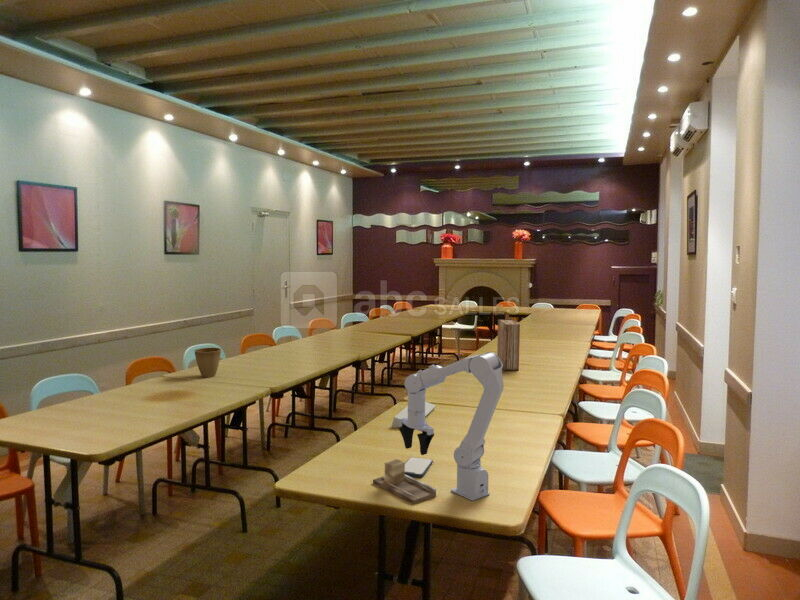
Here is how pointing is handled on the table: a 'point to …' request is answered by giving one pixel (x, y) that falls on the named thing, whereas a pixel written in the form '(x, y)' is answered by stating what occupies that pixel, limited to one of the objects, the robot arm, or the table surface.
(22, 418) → the table surface
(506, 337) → the tall wooden block
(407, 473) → the smartphone
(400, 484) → the board
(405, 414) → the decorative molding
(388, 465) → the block
